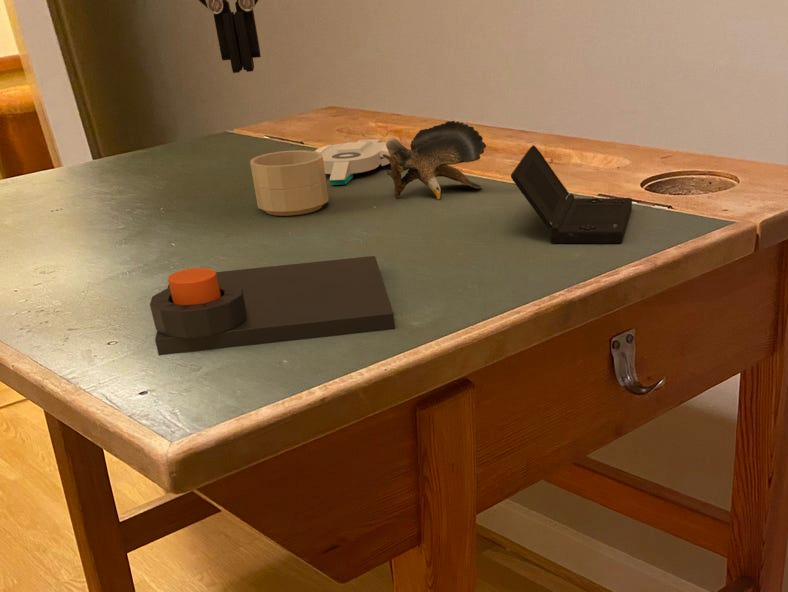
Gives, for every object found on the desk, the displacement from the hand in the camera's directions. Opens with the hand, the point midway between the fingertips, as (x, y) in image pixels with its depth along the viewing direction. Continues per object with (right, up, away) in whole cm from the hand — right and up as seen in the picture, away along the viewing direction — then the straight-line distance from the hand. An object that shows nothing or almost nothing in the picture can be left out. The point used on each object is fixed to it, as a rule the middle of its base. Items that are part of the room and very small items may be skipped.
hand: (243, 69), depth 81 cm
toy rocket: (+5, +6, +31) cm, 32 cm away
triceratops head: (+15, -2, +19) cm, 24 cm away
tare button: (0, -22, -12) cm, 25 cm away
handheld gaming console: (+27, -9, +8) cm, 30 cm away
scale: (+4, -21, -6) cm, 22 cm away
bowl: (+1, -3, +18) cm, 18 cm away
